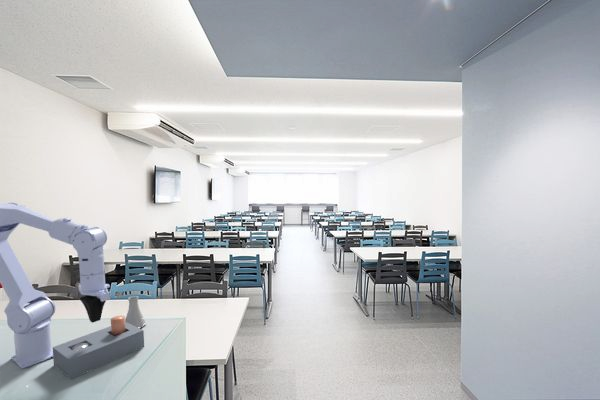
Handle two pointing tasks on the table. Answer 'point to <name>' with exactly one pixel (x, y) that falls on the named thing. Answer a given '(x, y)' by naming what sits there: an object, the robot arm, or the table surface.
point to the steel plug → (80, 347)
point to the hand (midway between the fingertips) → (95, 320)
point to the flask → (134, 313)
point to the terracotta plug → (117, 325)
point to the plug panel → (96, 350)
